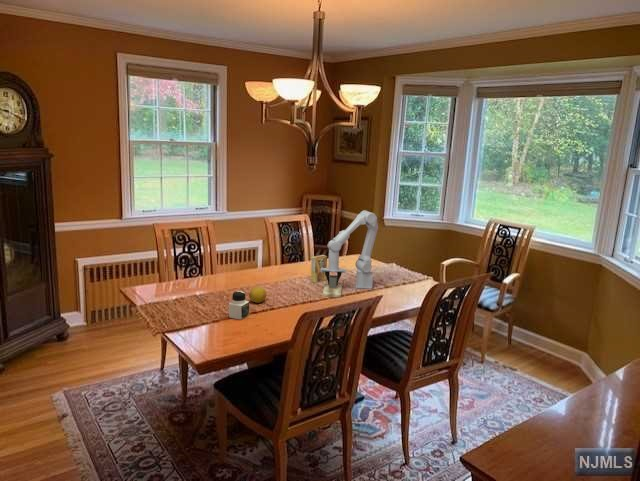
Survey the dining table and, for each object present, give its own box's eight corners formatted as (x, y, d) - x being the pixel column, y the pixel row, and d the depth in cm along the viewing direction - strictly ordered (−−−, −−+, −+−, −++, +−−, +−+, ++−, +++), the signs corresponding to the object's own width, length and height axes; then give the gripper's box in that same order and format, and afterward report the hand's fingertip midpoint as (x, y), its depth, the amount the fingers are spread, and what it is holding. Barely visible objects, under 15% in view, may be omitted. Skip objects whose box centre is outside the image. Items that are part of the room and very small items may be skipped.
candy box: (322, 278, 295) (322, 254, 291) (326, 280, 292) (327, 255, 288) (310, 281, 289) (311, 256, 286) (315, 283, 286) (315, 258, 283)
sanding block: (336, 285, 279) (336, 275, 277) (336, 289, 272) (336, 279, 271) (329, 285, 279) (329, 275, 278) (329, 288, 272) (329, 278, 271)
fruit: (259, 306, 246) (259, 291, 245) (246, 303, 250) (246, 288, 248) (269, 301, 254) (269, 286, 252) (256, 298, 258) (256, 283, 256)
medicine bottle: (241, 320, 227) (241, 295, 225) (228, 317, 230) (228, 293, 227) (249, 315, 234) (249, 291, 231) (236, 312, 236) (236, 289, 234)
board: (341, 286, 281) (341, 284, 281) (341, 297, 263) (341, 295, 262) (324, 285, 282) (324, 283, 282) (322, 296, 263) (322, 294, 263)
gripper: (320, 262, 269) (319, 286, 272) (346, 263, 268) (345, 287, 271) (321, 259, 276) (320, 282, 279) (346, 260, 275) (345, 283, 278)
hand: (332, 284), depth 275 cm, fingers closed on sanding block, 4 cm apart
